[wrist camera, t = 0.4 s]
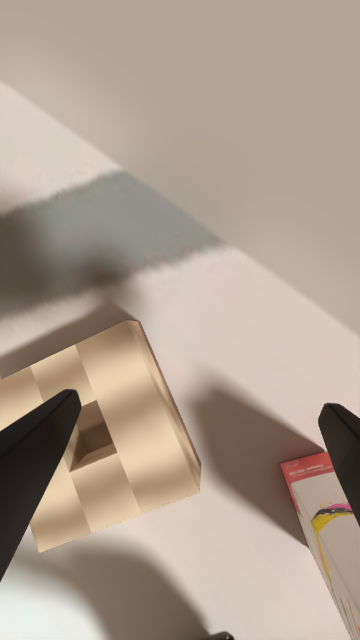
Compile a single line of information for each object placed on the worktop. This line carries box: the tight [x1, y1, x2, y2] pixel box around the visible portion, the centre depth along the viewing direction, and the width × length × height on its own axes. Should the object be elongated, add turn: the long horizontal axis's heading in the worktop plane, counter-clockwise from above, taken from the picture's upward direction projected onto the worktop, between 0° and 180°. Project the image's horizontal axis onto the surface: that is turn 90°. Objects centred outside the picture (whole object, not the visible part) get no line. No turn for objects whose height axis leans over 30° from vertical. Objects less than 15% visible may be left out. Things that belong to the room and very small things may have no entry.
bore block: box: [0, 320, 201, 553], centre depth 21 cm, size 16×16×4 cm
